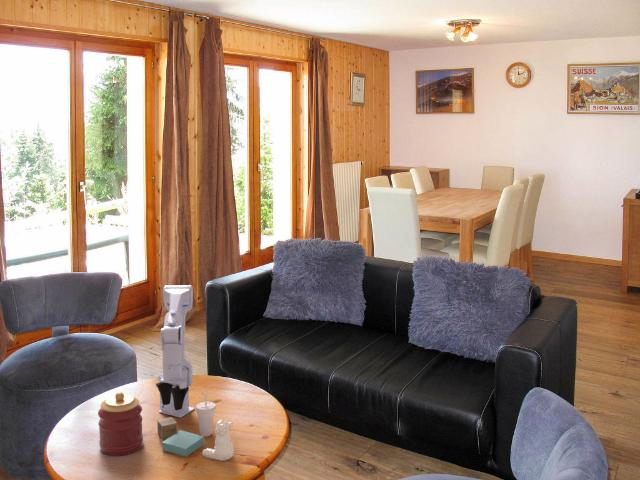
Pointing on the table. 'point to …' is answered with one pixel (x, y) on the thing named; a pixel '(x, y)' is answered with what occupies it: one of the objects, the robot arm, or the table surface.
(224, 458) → the seated beast figurine
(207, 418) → the smoothie
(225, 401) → the table surface
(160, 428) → the walnut block
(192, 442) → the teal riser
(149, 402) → the table surface
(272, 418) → the table surface
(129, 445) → the canister
